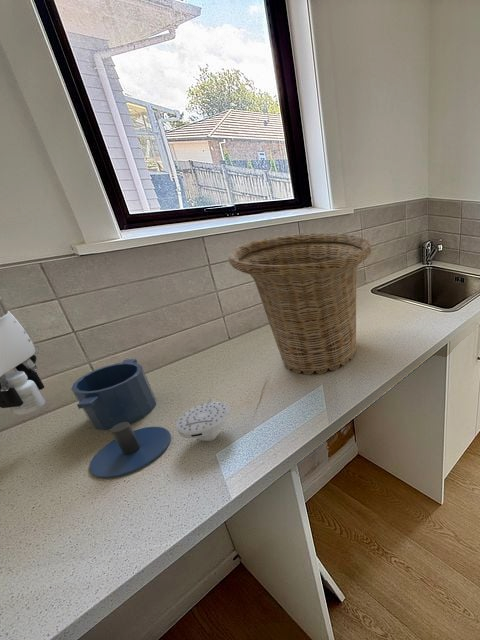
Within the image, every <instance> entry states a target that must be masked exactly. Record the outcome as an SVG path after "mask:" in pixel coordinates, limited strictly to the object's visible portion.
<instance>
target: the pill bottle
mask: <svg viewBox="0 0 480 640" xmlns="http://www.w3.org/2000/svg"><path fill="white" fill-rule="evenodd" d="M5 375H6V378H7V381H8V384H9V388H13V387H14V388H15V390H16V391H17V393H18V395H19V396H20V398H21V400H22V401H23V405H21V406H19V407H9V408H10V410H11V412H12V413H13V414H14V415H18V416H21V415H26V414H30V413H33V412H35V411H39V410H40V409H41V408H43V407H44V406H45V405H46V400H45V398H44V396H43V394H42V393H41V390H39V389H38V388H37V386H36V384H35V383H34V381H32V380H27V379H28V378H27V375H26V374H25V372H23V371H16V372H15V371H10V372H7V373H5Z"/></svg>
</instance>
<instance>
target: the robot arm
mask: <svg viewBox="0 0 480 640" xmlns="http://www.w3.org/2000/svg"><path fill="white" fill-rule="evenodd" d="M39 350H40V346H38V345H37V344H34V343H33V341H32V339H31V338H30V336H29V334H28V332H26V329H24V327H23V326H22V324H21V323H20V322H19V320H18V319H17V318H16V316H14V314H12V312H10V310H8V309H7V307H6V304H5V302H4V301H3V298H2V297H0V409H9V408H10V407H19V406H21V405H23V401H22V400H21V398H20V396H19V395H18V393H17V391H16V390H15V388H14V387H13V388H9V384H8V381H7V378H6V375H5V374H8V373H9V372H11V371H12V370H13V372H16V371H23V372H25V374H26V375H27V378H28V379H27V380H32V381H34V383H35V384H36V386H37V388H38V389H39V391H41V390H43V389H45V385H44V383H43V381H42V380H41V378H40V376H39V374H38V372H37V371H38V365H36V362H37V355H38V354H39Z"/></svg>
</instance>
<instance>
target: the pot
mask: <svg viewBox="0 0 480 640" xmlns="http://www.w3.org/2000/svg"><path fill="white" fill-rule="evenodd" d="M71 391H72V393H73V395H74V397H75V398H76V400H77V402H78V403H77V404H76V406H77V407H78V409H82V410H83V412H84V414H85V416H86V418H87V420H88V421H89V423H90V425H91V426H92V427H93V428H94V429H95V430H99V431H111V428H112V427H113V426H115V425H117V424H119V423H122V422H128V423H129V424H130V425H132V424H134V423H135V422H137V421H140V420H142V419H143V418H145V417H146V416H147V415H149V414H150V413H151V412H152V411H153V410H154V409H155V408H156V406H157V398H156V395H155V393H154V391H153V389H152V387H151V384H150V381H149V380H148V378H147V375H146V372H145V371H144V368H143V366H142V365H141V364H140V363H138V360H137V358H128V359H127V358H126V359H124V360H123V361H122V362H117V363H113V364H108V365H104V366H101V367H100V368H96V369H94V370H92V371H90V372H88V373H85V374H84V375H82V376H80V377H79V378H78V379H76V381H74V382H73V384H72V385H71Z"/></svg>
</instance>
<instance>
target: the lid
mask: <svg viewBox="0 0 480 640" xmlns="http://www.w3.org/2000/svg"><path fill="white" fill-rule="evenodd" d="M110 433H111V435H112V436H113V438H114V439H113V440H111V441H109V442H108V443H107V444H105V445H104V446H102V448H100V449H99V450H98V451H97V452H96V453H95V454H94V455H93V457H92V458H91V460H90V461H89V471H90V473H91V474H92V476H94V477H96V478H99V479H115V478H120V477H124V476H127V475H129V474H133V473H135V472H137V471H140V470H142V469H143V468H145V467H147V466H148V465H150V464H152V463H153V462H154V461H156V460H157V459H158V458H159V457H160V456H162V455H163V454H164V453H165V452H166V451H167V449H168V447H169V446H170V444H171V441H172V435H171V432H170V431H169V430H168V429H166V428H165V427H162V426H148V427H147V426H146V427H142V428H138V429H134V430H133V428H132V426H131V424H129V423H128V422H122V423H119V424H117V425H115V426H113V427H112V428H111V430H110Z"/></svg>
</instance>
